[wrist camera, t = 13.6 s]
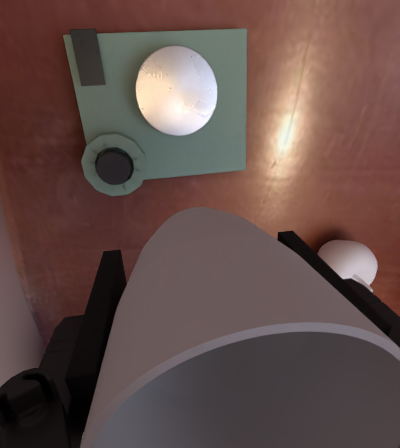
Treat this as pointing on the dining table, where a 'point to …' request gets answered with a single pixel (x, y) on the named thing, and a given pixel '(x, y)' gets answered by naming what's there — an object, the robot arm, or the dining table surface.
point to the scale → (141, 130)
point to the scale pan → (158, 84)
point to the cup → (239, 350)
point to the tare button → (113, 167)
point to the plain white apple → (350, 260)
